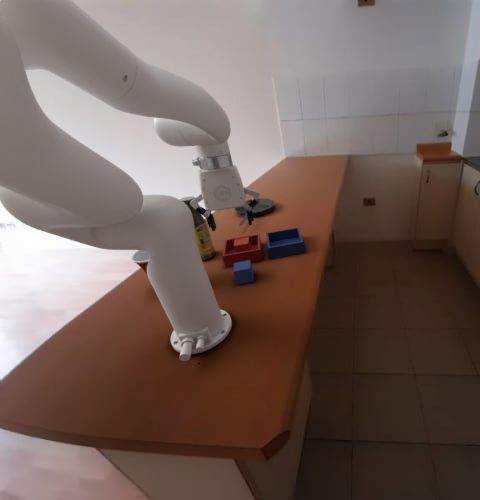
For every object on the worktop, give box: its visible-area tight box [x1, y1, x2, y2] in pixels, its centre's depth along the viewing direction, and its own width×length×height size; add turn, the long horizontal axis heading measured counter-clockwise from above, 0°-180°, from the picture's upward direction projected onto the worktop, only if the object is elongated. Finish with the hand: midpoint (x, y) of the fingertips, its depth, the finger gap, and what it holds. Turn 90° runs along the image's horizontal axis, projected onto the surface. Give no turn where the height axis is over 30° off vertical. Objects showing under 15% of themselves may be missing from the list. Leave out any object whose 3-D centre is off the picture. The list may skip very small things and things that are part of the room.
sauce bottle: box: [179, 195, 216, 261], centre depth 87 cm, size 6×6×20 cm
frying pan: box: [234, 197, 275, 226], centre depth 117 cm, size 18×32×4 cm, turn 1°
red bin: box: [222, 233, 264, 268], centre depth 90 cm, size 11×11×4 cm
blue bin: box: [265, 227, 306, 260], centre depth 92 cm, size 11×11×4 cm
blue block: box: [232, 260, 255, 286], centre depth 78 cm, size 4×4×4 cm
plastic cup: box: [130, 250, 149, 275], centre depth 75 cm, size 11×11×12 cm
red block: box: [234, 237, 252, 253], centre depth 89 cm, size 4×4×4 cm
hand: (232, 226), depth 76 cm, fingers open, 9 cm apart
